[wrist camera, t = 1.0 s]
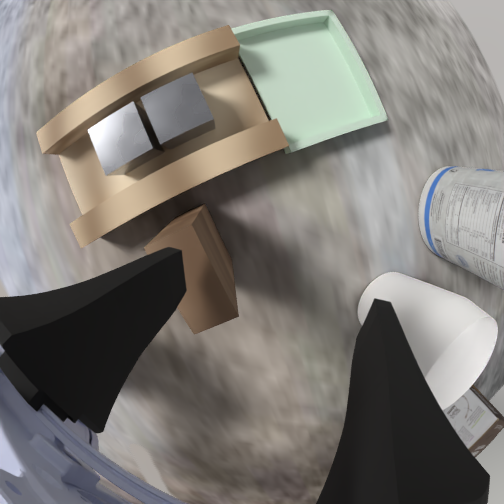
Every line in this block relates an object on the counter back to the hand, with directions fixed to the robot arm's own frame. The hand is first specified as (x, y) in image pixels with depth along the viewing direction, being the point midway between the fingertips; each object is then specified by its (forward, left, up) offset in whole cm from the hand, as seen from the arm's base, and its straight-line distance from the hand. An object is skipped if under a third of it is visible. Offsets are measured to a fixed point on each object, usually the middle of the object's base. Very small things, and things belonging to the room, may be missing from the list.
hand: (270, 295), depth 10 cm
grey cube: (-5, +10, -11) cm, 15 cm away
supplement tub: (+20, -6, -12) cm, 24 cm away
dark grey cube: (-1, +10, -11) cm, 15 cm away
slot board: (-3, +10, -12) cm, 16 cm away
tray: (+10, +10, -12) cm, 18 cm away
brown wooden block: (-3, +1, -12) cm, 13 cm away
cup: (+10, -12, -12) cm, 20 cm away
